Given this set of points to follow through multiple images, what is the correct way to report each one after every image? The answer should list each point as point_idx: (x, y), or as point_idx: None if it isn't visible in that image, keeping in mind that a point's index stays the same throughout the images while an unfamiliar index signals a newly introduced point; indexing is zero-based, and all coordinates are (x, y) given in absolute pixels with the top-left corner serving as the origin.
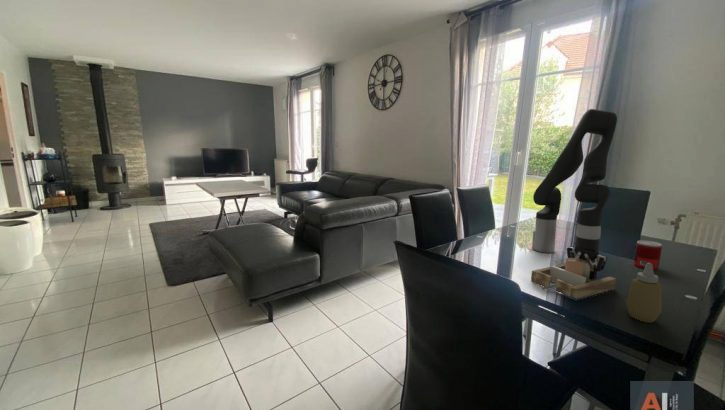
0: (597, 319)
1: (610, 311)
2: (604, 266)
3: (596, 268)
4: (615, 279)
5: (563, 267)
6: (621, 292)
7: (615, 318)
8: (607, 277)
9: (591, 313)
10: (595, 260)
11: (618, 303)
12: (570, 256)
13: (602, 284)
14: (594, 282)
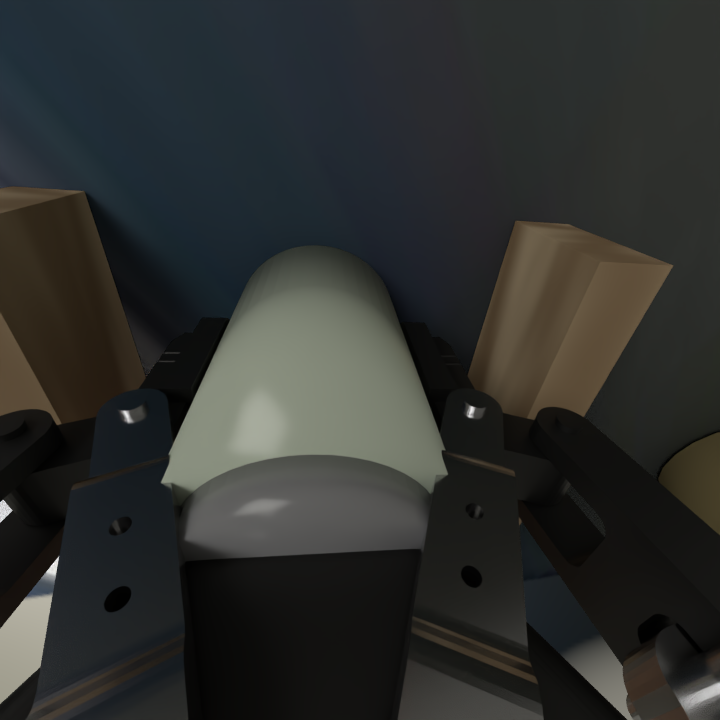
0: (551, 567)
1: (582, 504)
2: (650, 477)
3: (521, 512)
4: (658, 271)
5: (78, 416)
6: (623, 226)
7: (604, 528)
8: (576, 322)
9: (525, 557)
10: (508, 549)
11: (609, 418)
12: (8, 614)
13: None
14: None
